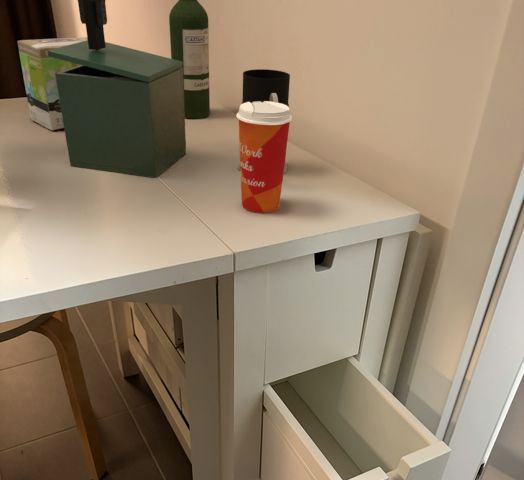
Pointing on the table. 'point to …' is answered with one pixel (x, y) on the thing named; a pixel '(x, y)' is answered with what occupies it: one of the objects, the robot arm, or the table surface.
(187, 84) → the wine bottle
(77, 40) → the tea box
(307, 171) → the table surface
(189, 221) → the table surface
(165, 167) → the dark green square box
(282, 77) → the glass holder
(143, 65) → the lid
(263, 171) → the paper cup
